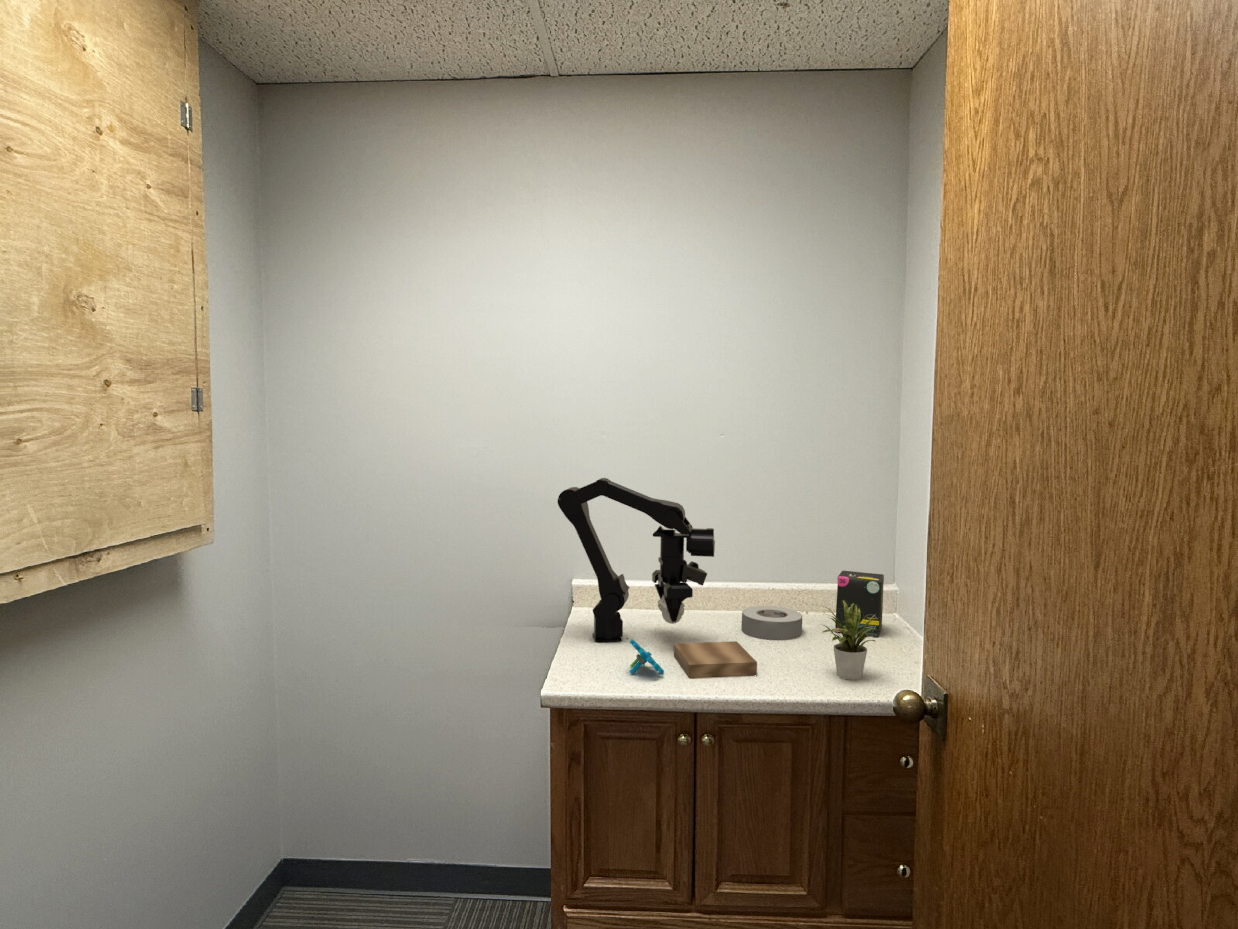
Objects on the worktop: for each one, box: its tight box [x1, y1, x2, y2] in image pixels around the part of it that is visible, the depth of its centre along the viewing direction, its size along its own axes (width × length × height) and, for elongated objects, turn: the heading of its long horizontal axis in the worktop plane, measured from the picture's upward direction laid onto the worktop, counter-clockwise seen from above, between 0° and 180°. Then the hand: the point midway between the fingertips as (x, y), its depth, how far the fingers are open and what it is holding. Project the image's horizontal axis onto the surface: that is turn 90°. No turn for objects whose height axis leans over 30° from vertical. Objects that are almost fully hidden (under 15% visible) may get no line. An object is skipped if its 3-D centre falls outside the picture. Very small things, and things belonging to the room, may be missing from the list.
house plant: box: [819, 601, 877, 681], centre depth 174 cm, size 14×14×16 cm
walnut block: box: [673, 640, 758, 679], centre depth 179 cm, size 15×15×4 cm
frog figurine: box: [657, 596, 685, 625], centre depth 196 cm, size 6×7×7 cm
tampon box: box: [834, 570, 885, 638], centre depth 207 cm, size 11×9×15 cm
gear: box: [629, 638, 665, 675], centre depth 174 cm, size 11×6×10 cm
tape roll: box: [741, 605, 803, 641], centre depth 206 cm, size 15×15×5 cm
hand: (670, 618), depth 196 cm, fingers closed on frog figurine, 6 cm apart
